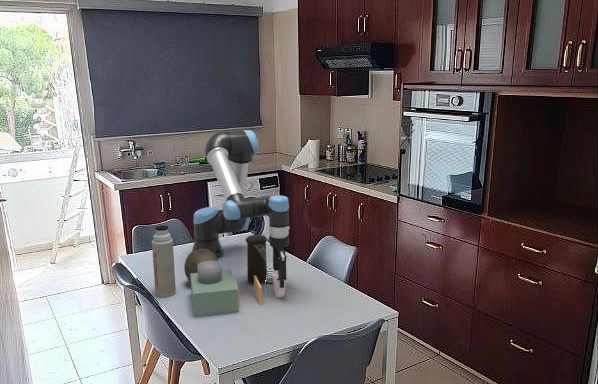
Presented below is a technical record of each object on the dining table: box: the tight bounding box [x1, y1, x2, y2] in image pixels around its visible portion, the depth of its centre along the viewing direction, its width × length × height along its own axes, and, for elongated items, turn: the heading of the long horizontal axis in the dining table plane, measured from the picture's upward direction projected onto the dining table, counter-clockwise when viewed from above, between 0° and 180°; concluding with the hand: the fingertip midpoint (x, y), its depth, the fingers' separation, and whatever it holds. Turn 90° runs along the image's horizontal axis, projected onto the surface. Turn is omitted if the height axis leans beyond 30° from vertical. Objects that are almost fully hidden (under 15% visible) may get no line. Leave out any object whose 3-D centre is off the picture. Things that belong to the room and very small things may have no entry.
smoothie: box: [271, 270, 288, 298], centre depth 194 cm, size 6×6×14 cm
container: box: [245, 234, 268, 285], centre depth 208 cm, size 9×9×20 cm
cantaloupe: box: [183, 249, 219, 283], centre depth 206 cm, size 14×14×15 cm
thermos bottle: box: [151, 224, 177, 298], centre depth 195 cm, size 8×8×28 cm
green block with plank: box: [190, 260, 263, 318], centre depth 189 cm, size 20×26×15 cm
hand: (279, 291), depth 195 cm, fingers closed on smoothie, 6 cm apart
